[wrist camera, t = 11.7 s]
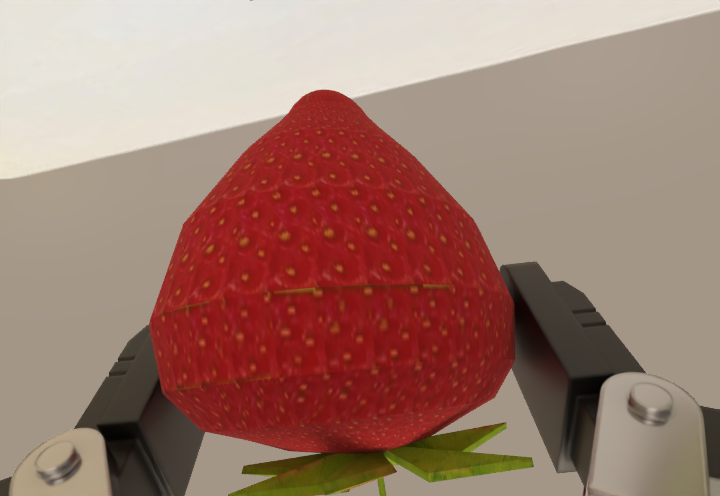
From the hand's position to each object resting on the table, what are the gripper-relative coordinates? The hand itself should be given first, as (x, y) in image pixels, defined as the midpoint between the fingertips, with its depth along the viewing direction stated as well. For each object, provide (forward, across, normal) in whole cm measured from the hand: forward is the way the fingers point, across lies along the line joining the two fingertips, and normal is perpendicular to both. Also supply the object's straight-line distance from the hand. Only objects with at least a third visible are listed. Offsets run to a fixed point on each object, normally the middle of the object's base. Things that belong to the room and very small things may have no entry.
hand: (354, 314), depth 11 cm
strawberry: (+3, 0, -5) cm, 5 cm away
